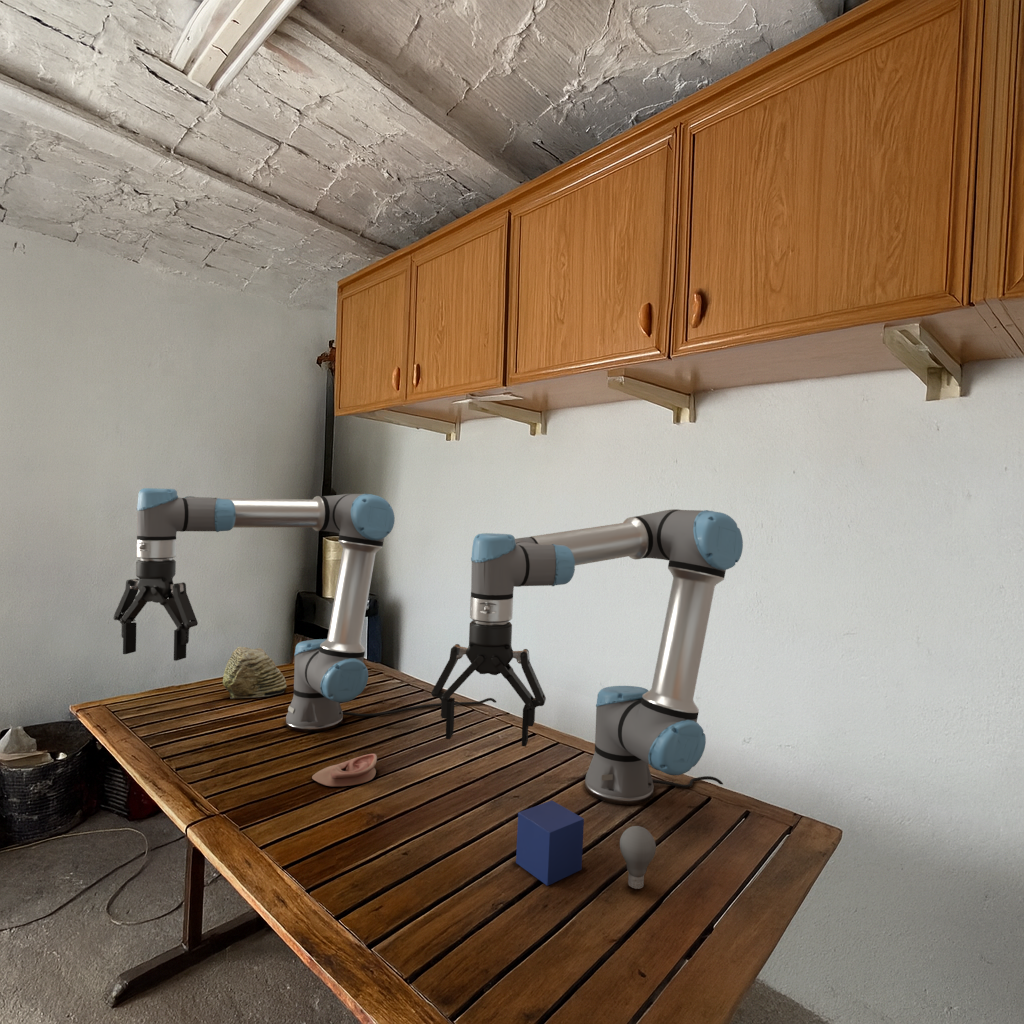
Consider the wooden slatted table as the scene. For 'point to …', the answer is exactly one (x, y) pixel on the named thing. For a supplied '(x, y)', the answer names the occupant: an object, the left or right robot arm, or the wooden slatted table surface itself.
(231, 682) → the fossil
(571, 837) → the block
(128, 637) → the left robot arm
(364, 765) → the anatomical model
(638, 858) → the light bulb
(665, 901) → the wooden slatted table surface
